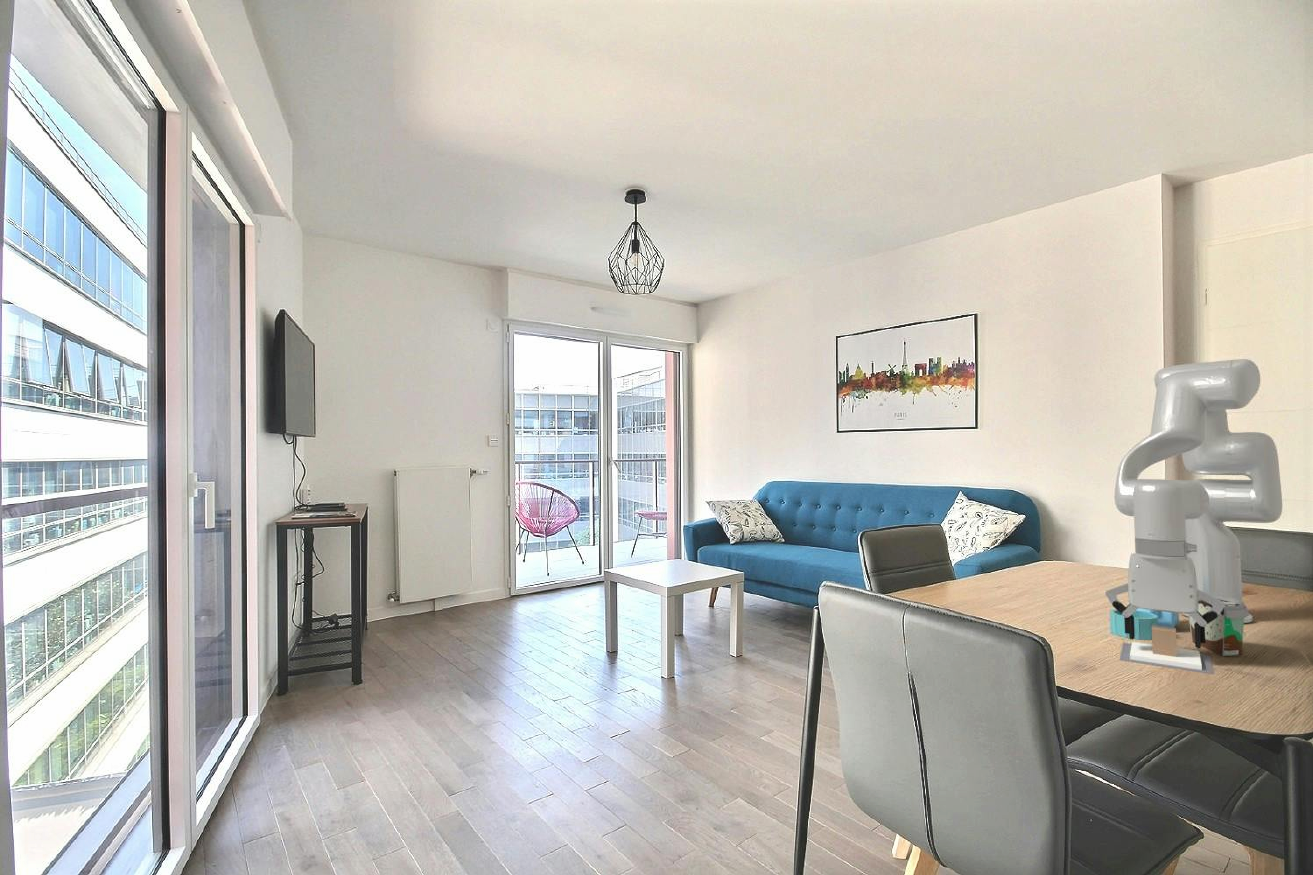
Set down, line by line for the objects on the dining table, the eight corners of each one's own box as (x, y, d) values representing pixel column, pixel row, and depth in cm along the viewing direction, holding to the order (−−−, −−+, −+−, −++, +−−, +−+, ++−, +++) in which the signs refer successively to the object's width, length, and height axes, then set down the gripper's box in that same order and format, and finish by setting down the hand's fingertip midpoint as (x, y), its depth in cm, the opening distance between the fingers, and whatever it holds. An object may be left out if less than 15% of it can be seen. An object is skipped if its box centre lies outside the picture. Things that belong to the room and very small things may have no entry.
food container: (1268, 663, 114) (1266, 607, 114) (1229, 661, 115) (1226, 606, 116) (1222, 643, 126) (1220, 593, 127) (1187, 642, 127) (1184, 592, 128)
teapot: (1148, 618, 146) (1147, 585, 146) (1182, 623, 141) (1181, 589, 141) (1135, 628, 138) (1134, 593, 138) (1170, 634, 133) (1169, 598, 134)
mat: (1123, 645, 126) (1123, 642, 126) (1209, 657, 118) (1209, 654, 118) (1119, 662, 116) (1119, 659, 116) (1213, 677, 108) (1213, 674, 108)
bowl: (1112, 629, 137) (1111, 607, 138) (1158, 635, 132) (1157, 612, 133) (1109, 637, 131) (1108, 615, 131) (1158, 644, 126) (1157, 620, 126)
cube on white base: (1132, 645, 124) (1131, 618, 124) (1199, 655, 118) (1198, 626, 118) (1130, 659, 116) (1128, 630, 116) (1201, 669, 110) (1200, 639, 110)
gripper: (1221, 550, 115) (1225, 645, 115) (1104, 543, 126) (1108, 630, 125) (1224, 555, 109) (1228, 655, 109) (1102, 547, 120) (1105, 639, 120)
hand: (1164, 642), depth 117 cm, fingers open, 9 cm apart
